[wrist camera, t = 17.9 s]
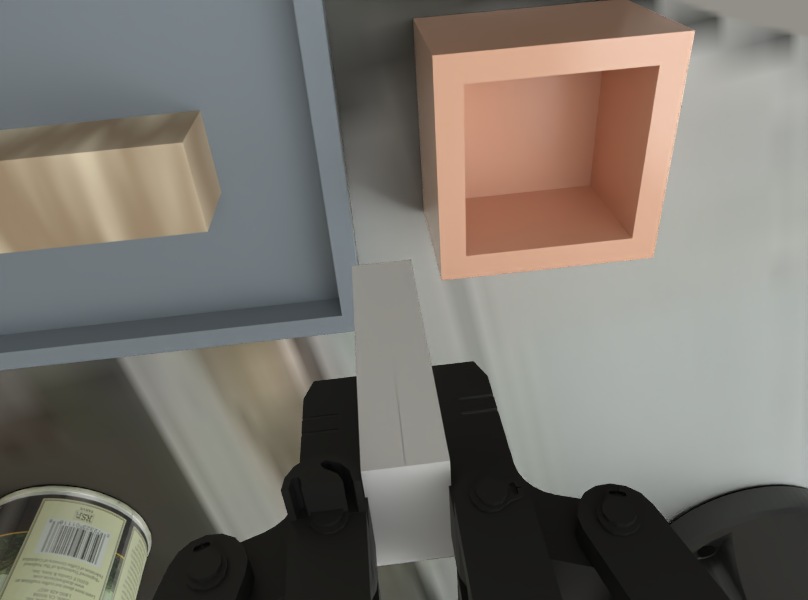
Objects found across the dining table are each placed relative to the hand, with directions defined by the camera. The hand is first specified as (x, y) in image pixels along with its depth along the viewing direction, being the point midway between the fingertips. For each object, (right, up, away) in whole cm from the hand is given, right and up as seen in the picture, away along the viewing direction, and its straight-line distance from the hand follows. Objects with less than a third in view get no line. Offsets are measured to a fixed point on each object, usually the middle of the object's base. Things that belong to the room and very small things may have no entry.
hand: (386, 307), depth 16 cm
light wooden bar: (-8, +7, +10) cm, 15 cm away
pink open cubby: (+5, +8, +11) cm, 15 cm away
